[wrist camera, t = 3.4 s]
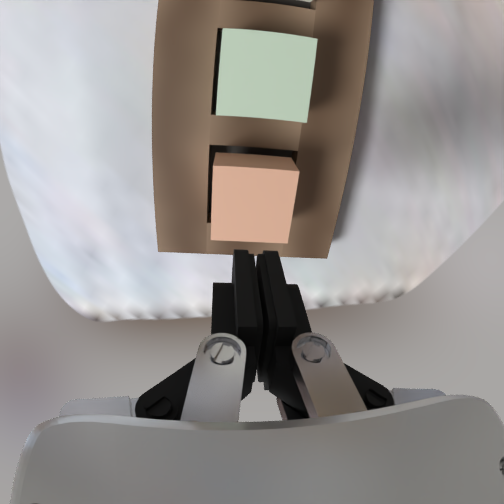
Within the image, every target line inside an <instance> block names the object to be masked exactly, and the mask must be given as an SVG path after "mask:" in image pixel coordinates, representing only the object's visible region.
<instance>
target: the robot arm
mask: <svg viewBox="0 0 504 504" xmlns="http://www.w3.org/2000/svg"><path fill="white" fill-rule="evenodd" d="M211 328H212V329H211V335H210V336H208V337H206V338H205V339H204V340H203V341H202V342H201V343H200V345H199V348H198V352H197V356H196V358H195V359H193V360H192V361H191V362H189V363H188V364H186V365H185V366H183V367H182V368H181V369H179V370H178V371H176V372H175V373H173V374H172V375H170V376H169V377H167V378H166V379H164V380H163V381H161V382H160V383H159V384H157V385H156V386H154V387H153V388H151V389H150V390H148V391H147V392H145V393H144V394H143V395H141V396H140V397H139V398H132V399H130V398H129V396H125V397H124V396H123V397H110V398H94V399H75V400H70V401H69V402H67V403H66V404H65V405H64V406H63V407H62V408H61V411H60V415H59V417H56V418H53V419H50V420H47V421H45V422H43V423H41V424H39V425H38V426H36V427H35V428H34V429H33V430H32V432H31V433H30V435H29V437H28V438H27V440H26V442H25V445H24V447H23V450H22V453H21V455H20V459H19V462H18V465H17V469H16V473H15V478H14V482H13V487H12V493H11V500H10V504H504V425H503V423H502V421H501V419H500V418H499V416H498V414H497V413H496V411H495V410H494V408H493V407H492V406H491V405H490V404H489V403H488V402H487V401H485V400H483V399H481V398H477V397H474V396H467V395H445V393H443V392H442V391H440V390H436V389H405V388H393V389H392V390H391V391H389V390H388V389H387V388H385V387H384V386H383V385H381V384H379V383H377V382H375V381H374V380H372V379H370V378H369V377H367V376H365V375H363V374H362V373H360V372H358V371H356V370H355V369H353V368H351V367H350V366H348V365H346V364H344V363H343V361H342V359H341V357H340V355H339V354H338V352H337V350H336V348H335V346H334V344H333V343H332V342H331V341H330V340H329V339H328V338H326V337H325V336H323V335H321V334H317V333H312V331H311V328H310V324H309V321H308V317H307V314H306V310H305V307H304V303H303V300H302V297H301V293H300V290H299V287H298V285H297V284H286V280H285V276H284V272H283V268H282V265H281V261H280V257H279V253H278V251H269V250H263V253H262V254H258V255H257V262H256V266H255V259H254V254H249V251H248V250H240V249H234V253H233V268H232V283H213V299H212V327H211ZM256 370H257V374H258V381H259V382H264V390H269V392H271V393H272V394H274V395H275V396H276V397H277V398H276V399H277V405H278V408H279V411H280V414H281V417H282V420H283V421H268V422H266V421H265V422H238V420H239V411H240V402H241V400H243V399H244V398H245V397H246V396H247V395H248V394H249V393H250V392H251V389H252V383H253V382H254V381H255V376H256Z"/></svg>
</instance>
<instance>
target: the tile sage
mask: <svg viewBox="0 0 504 504" xmlns="http://www.w3.org/2000/svg"><path fill="white" fill-rule="evenodd" d="M317 40H318V39H316V38H310V37H304V36H298V35H292V34H285V33H277V32H268V31H258V30H247V29H230V28H223V30H222V41H221V52H220V64H219V76H218V90H217V104H216V115H221V116H240V117H254V118H266V119H277V120H286V121H295V122H303V123H307V118H308V111H309V103H310V96H311V88H312V81H313V73H314V65H315V57H316V48H317Z"/></svg>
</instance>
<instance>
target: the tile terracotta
mask: <svg viewBox="0 0 504 504" xmlns="http://www.w3.org/2000/svg"><path fill="white" fill-rule="evenodd" d="M298 178H299V170H298V168H297V166H296V165H295V163H294V161H293V160H292V158H290V157H279V156H267V155H254V154H238V153H218V152H216V153H215V158H214V164H213V180H212V209H211V240H219V241H243V242H265V243H287V244H288V238H289V232H290V226H291V220H292V215H293V209H294V203H295V196H296V190H297V184H298Z"/></svg>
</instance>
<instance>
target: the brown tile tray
mask: <svg viewBox="0 0 504 504" xmlns="http://www.w3.org/2000/svg"><path fill="white" fill-rule="evenodd" d="M373 4H374V0H312V1H311V2H306V1H301V0H159V1H158V11H157V21H156V33H155V46H154V63H153V88H152V160H153V186H154V204H155V219H156V232H157V244H158V252H177V253H201V254H225V255H233V253H234V249H240V250H248V251H249V254H254V256H257V255H258V254H262V253H263V250H269V251H278V253H279V257H300V258H326V259H327V257H328V253H329V249H330V245H331V241H332V237H333V233H334V229H335V225H336V221H337V217H338V213H339V209H340V205H341V200H342V196H343V192H344V187H345V183H346V178H347V173H348V169H349V164H350V159H351V154H352V149H353V144H354V139H355V133H356V128H357V122H358V117H359V111H360V105H361V99H362V93H363V86H364V80H365V73H366V66H367V59H368V51H369V43H370V34H371V25H372V15H373ZM223 28H230V29H247V30H258V31H268V32H277V33H285V34H292V35H298V36H304V37H310V38H316V39H318V40H317V48H316V57H315V65H314V73H313V81H312V88H311V96H310V103H309V111H308V118H307V123H303V122H295V121H286V120H277V119H266V118H254V117H240V116H221V115H216V104H217V90H218V76H219V64H220V52H221V41H222V30H223ZM216 152H218V153H238V154H254V155H267V156H279V157H290V158H292V160H293V161H294V163H295V165H296V166H297V168H298V170H299V178H298V184H297V190H296V196H295V203H294V209H293V215H292V220H291V226H290V232H289V238H288V244H287V243H265V242H243V241H219V240H211V209H212V180H213V164H214V158H215V153H216Z"/></svg>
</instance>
